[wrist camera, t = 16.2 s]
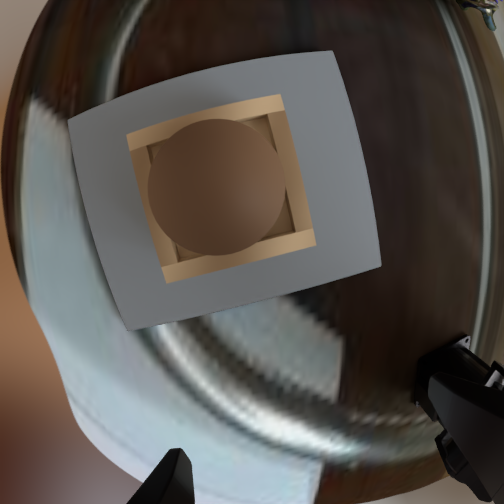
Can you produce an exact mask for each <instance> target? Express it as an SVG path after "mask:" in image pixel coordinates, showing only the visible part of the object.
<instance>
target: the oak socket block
mask: <svg viewBox="0 0 504 504" xmlns="http://www.w3.org/2000/svg"><path fill="white" fill-rule="evenodd" d="M207 119H228V120H232V121H237V122H240V123H242V124H245V125H247V126H249V127H251V128H253V129H254V130H256V131H257V132H259V133H260V134H261V135H262V136H263V137H264V138H265V139H267V140H268V142H269V143H270V144H271V145H272V147H273V148H274V150H275V151H276V153H277V154H278V157H279V159H280V161H281V164H282V167H283V170H284V176H285V198H284V202H283V206H282V209H281V212H280V214H279V216H278V218H277V220H276V222H275V224H274V225H273V226H272V228H271V229H270V230H269V231H268V233H267V234H266V235H265V236H264V237H263V238H261V239H260V240H259V241H258V242H256V243H255V244H253V245H252V246H250V247H248V248H246V249H244V250H242V251H239V252H236V253H233V254H228V255H220V256H211V255H203V254H198V253H195V252H192V251H189V250H187V249H185V248H183V247H181V246H179V245H178V244H177V243H175V242H174V241H172V240H171V239H170V238H169V237H168V236H167V235H166V234H165V233H164V232H163V230H162V229H161V228H160V226H159V225H158V223H157V222H156V220H155V218H154V216H153V214H152V211H151V208H150V204H149V199H148V177H149V172H150V168H151V165H152V163H153V160H154V158H155V156H156V154H157V152H158V151H159V150H160V148H161V147H162V145H163V144H164V143H165V142H166V141H167V140H168V139H169V138H170V137H171V136H172V135H173V134H174V133H176V132H177V131H179V130H180V129H182V128H183V127H186V126H188V125H190V124H192V123H195V122H198V121H202V120H207ZM126 136H127V141H128V146H129V150H130V155H131V159H132V164H133V168H134V172H135V176H136V180H137V184H138V188H139V192H140V196H141V200H142V204H143V207H144V211H145V215H146V218H147V222H148V225H149V229H150V232H151V236H152V239H153V243H154V246H155V249H156V252H157V256H158V259H159V262H160V265H161V268H162V271H163V274H164V277H165V281H166V284H167V283H171V282H175V281H179V280H183V279H187V278H191V277H195V276H199V275H203V274H207V273H211V272H215V271H219V270H223V269H227V268H231V267H235V266H239V265H243V264H247V263H250V262H254V261H258V260H262V259H266V258H270V257H274V256H278V255H282V254H285V253H289V252H293V251H297V250H301V249H305V248H308V247H312V246H316V240H315V235H314V230H313V225H312V221H311V216H310V211H309V206H308V202H307V197H306V193H305V188H304V184H303V180H302V175H301V171H300V167H299V163H298V158H297V154H296V150H295V146H294V142H293V139H292V135H291V131H290V127H289V123H288V119H287V116H286V112H285V108H284V105H283V101H282V98H281V94H277V95H271V96H265V97H260V98H255V99H250V100H245V101H240V102H236V103H231V104H227V105H223V106H218V107H214V108H210V109H206V110H203V111H199V112H195V113H192V114H188V115H185V116H181V117H178V118H174V119H171V120H168V121H165V122H161V123H158V124H155V125H152V126H149V127H146V128H143V129H141V130H138V131H135V132H132V133H129V134H127V135H126Z"/></svg>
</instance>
